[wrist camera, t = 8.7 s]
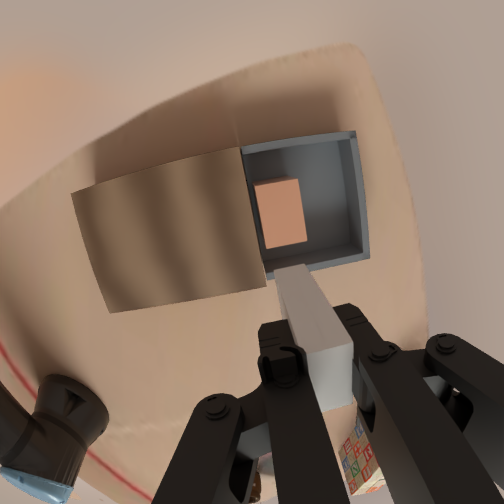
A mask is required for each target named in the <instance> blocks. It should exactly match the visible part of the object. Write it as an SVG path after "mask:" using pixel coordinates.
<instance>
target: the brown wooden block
mask: <svg viewBox="0 0 504 504" xmlns="http://www.w3.org/2000/svg"><path fill="white" fill-rule="evenodd" d="M71 196H72V200H73V204H74V208H75V212H76V216H77V220H78V223H79V227H80V230H81V234H82V237H83V241H84V244H85V247H86V250H87V253H88V256H89V259H90V262H91V265H92V268H93V271H94V274H95V277H96V280H97V282H98V285H99V288H100V290H101V293H102V296H103V298H104V301H105V303H106V306H107V308H108V311H109V313H117V312H123V311H130V310H137V309H143V308H149V307H156V306H162V305H168V304H174V303H180V302H186V301H191V300H197V299H203V298H208V297H214V296H220V295H225V294H230V293H236V292H241V291H246V290H251V289H257V288H262V287H267V286H266V281H265V275H264V270H263V265H262V260H261V255H260V250H259V245H258V239H257V234H256V229H255V224H254V219H253V214H252V209H251V204H250V199H249V194H248V189H247V184H246V179H245V174H244V169H243V164H242V159H241V154H240V149H239V146H238V147H233V148H228V149H223V150H219V151H214V152H210V153H205V154H201V155H197V156H193V157H188V158H184V159H180V160H176V161H173V162H169V163H165V164H161V165H158V166H154V167H151V168H147V169H144V170H140V171H137V172H134V173H130V174H127V175H124V176H121V177H117V178H114V179H111V180H108V181H105V182H102V183H99V184H96V185H93V186H91V187H88V188H85V189H82V190H79V191H77V192H74V193H71Z"/></svg>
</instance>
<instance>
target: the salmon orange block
mask: <svg viewBox="0 0 504 504" xmlns="http://www.w3.org/2000/svg"><path fill="white" fill-rule="evenodd" d="M252 186H253V191H254V196H255V201H256V207H257V212H258V217H259V222H260V227H261V233H262V236H263V239H264V243H265V246H266V249H269V248H274V247H279V246H284V245H289V244H294V243H299V242H304V241H307V234H306V227H305V221H304V214H303V208H302V201H301V195H300V189H299V183H298V179H297V178H294V177H291V176H288V175H286V176H281V177H275V178H269V179H264V180H259V181H253V182H252Z"/></svg>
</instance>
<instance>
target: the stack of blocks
mask: <svg viewBox="0 0 504 504" xmlns="http://www.w3.org/2000/svg"><path fill="white" fill-rule="evenodd" d="M339 456H340V460H341V463H342V466H343V469H344V473H345V477H346V480H347V483H348V485H349V489H350V493H351V495H352V496H353V495H359V494H364V493H368V492H372V491H376V490H379V489H380V488H381V486H383V485H384V484H386V481H385V479H384V476H383V474H382V471H381V469H380V466H379V464H378V461H377V459H376V457H375V454H374V452H373V449H372V447H371V445H370V442H369V440H368V438H367V435H366V433H365V431H364V428H363V426H362V424H361V421H360V427H358V428H357V426H356V427H355V429H354V430H353V432H352V434H351V435H350V437H349V438H348V439H347V441H346V442H345V444H344V445H343V447H342V448H341V450H340V451H339Z"/></svg>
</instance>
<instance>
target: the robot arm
mask: <svg viewBox="0 0 504 504" xmlns="http://www.w3.org/2000/svg"><path fill="white" fill-rule="evenodd" d="M274 276H275V281H276V286H277V292H278V297H279V303H280V308H281V314H282V319H283V320H279V321H274V322H269V323H265V324H262V325H261V327H260V329H259V331H258V339H259V346H260V354H261V355H260V356H259V357H258V363H257V364H258V368H259V372H260V376H261V380H262V382H261V384H260V385H259V387H258V388H257V389H255V390H254V391H253V392H251V393H249V394H248V395H245V396H243V397H241V398H238V399H237V398H236V397H234V396H232V395H230V394H224V393H220V394H213V395H210V396H208V397H205V398H204V399H203V400H201V401H200V402H199V403H198V404H197V405H196V407H195V408H194V410H193V413H192V415H191V417H190V419H189V422H188V424H187V426H186V428H185V431H184V433H183V435H182V437H181V439H180V442H179V444H178V446H177V448H176V450H175V453H174V455H173V457H172V459H171V461H170V464H169V466H168V468H167V470H166V472H165V475H164V477H163V479H162V481H161V483H160V486H159V488H158V490H157V492H156V494H155V496H154V499H153V501H152V503H151V504H248V503H249V499H250V495H251V491H252V486H253V482H254V478H255V473H256V469H257V464H258V460H259V457H260V456H262V455H265V454H267V453H269V452H271V451H272V458H273V465H274V473H275V480H276V487H277V495H278V501H279V504H350V501H349V498H348V495H347V492H346V488H345V485H344V482H343V479H342V475H341V472H340V469H339V466H338V463H337V459H336V456H335V453H334V450H333V447H332V444H331V441H330V437H329V434H328V431H327V428H326V425H325V422H324V419H323V416H322V413H321V412H324V411H328V410H332V409H336V408H339V407H343V406H346V405H349V404H353V394H354V397H355V399H356V401H357V417H356V426H357V428H358V427H360V421H361V424H362V426H363V428H364V431H365V433H366V435H367V438H368V440H369V442H370V445H371V447H372V449H373V452H374V454H375V457H376V459H377V461H378V464H379V466H380V469H381V471H382V474H383V476H384V479H385V481H386V483H387V486H388V488H389V491H390V493H391V496H392V499H393V501H394V504H504V499H503V498H502V496H501V494H500V492H499V490H498V489H497V487H496V485H495V484H494V482H495V483H496V484H497V485H499V486H500V487H501V488H502V489H503V490H504V364H502V363H500V362H499V361H497V360H496V359H494V358H492V357H491V356H489V355H487V354H486V353H484V352H482V351H481V350H479V349H478V348H476V347H474V346H473V345H471V344H469V343H468V342H466V341H465V340H463V339H461V338H460V337H458V336H455V335H452V334H447V333H443V334H437V335H435V336H432V337H431V338H430V339H429V340H428V341H427V344H426V348H425V349H420V350H411V351H402V350H401V349H400V347H398V346H397V345H396V344H394V343H392V342H389V341H383V339H382V338H381V337H380V335H379V334H378V333H377V331H376V330H375V329H374V327H373V326H372V325H371V323H370V322H368V319H367V318H366V317H365V316H364V314H363V313H362V312H361V310H360V309H359V308H358V307H356V306H354V305H352V304H350V303H347V304H343V305H339V306H335V307H332V306H331V305H330V303H329V302H328V300H327V298H326V297H325V295H324V294H323V292H322V290H321V289H320V287H319V286H318V284H317V283H316V281H315V279H314V278H313V276H312V275H311V273H310V272H309V270H308V268H307V267H306V265H305V264H300V265H295V266H290V267H285V268H281V269H276V270H274ZM454 388H456V389H457V390H458V391H459V392H456V391H454V390H453V389H454ZM108 422H109V414H108V412H107V409H106V408H105V406H104V405H103V403H102V402H101V401H100V400H99V398H98V397H97V396H96V395H95V394H93V393H92V392H91V391H90V390H89V389H87V388H86V387H85V386H83V385H82V384H80V383H78V382H77V381H75V380H73V379H70V378H68V377H65V376H62V375H49V376H47V377H45V379H44V380H43V381H42V383H41V384H40V386H39V389H38V396H37V400H36V404H35V409H34V412H33V414H32V415H30V414H29V413H28V412H27V411H26V410H25V409H24V408H23V407H22V406H21V405H20V403H19V402H18V401H17V400H16V399H15V398H14V397H13V396H12V394H11V393H10V392H9V391H8V390H7V389H6V387H5V386H4V385H3V384H2V383H1V381H0V464H1V465H2V466H1V467H0V473H1V475H2V476H3V477H4V478H5V479H6V480H7V481H8V482H10V483H11V484H13V485H14V486H16V487H17V488H19V489H21V490H22V491H24V492H26V493H28V494H29V495H32V496H33V497H36V498H38V499H40V500H42V501H45V502H48V503H51V504H65V503H66V502H67V500H68V498H69V496H70V494H71V492H72V491H73V489H74V488H73V487H74V484H75V481H76V478H77V475H78V473H79V470H80V467H81V465H82V462H83V459H84V457H85V454H86V451H87V449H88V447H89V446H90V445H91V444H92V443H93V442H94V441H95V440H96V439H97V438H98V437H99V436H100V435H101V434H102V433H103V432H104V431H105V430H106V427H107V425H108ZM493 481H494V482H493Z"/></svg>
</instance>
